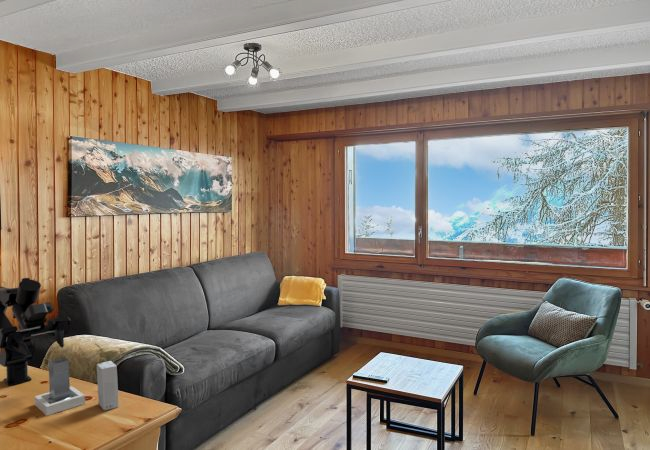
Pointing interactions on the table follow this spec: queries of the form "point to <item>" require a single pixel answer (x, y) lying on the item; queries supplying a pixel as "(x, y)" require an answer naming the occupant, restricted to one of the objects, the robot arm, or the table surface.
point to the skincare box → (107, 385)
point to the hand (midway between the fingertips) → (46, 350)
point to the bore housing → (49, 409)
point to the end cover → (59, 380)
